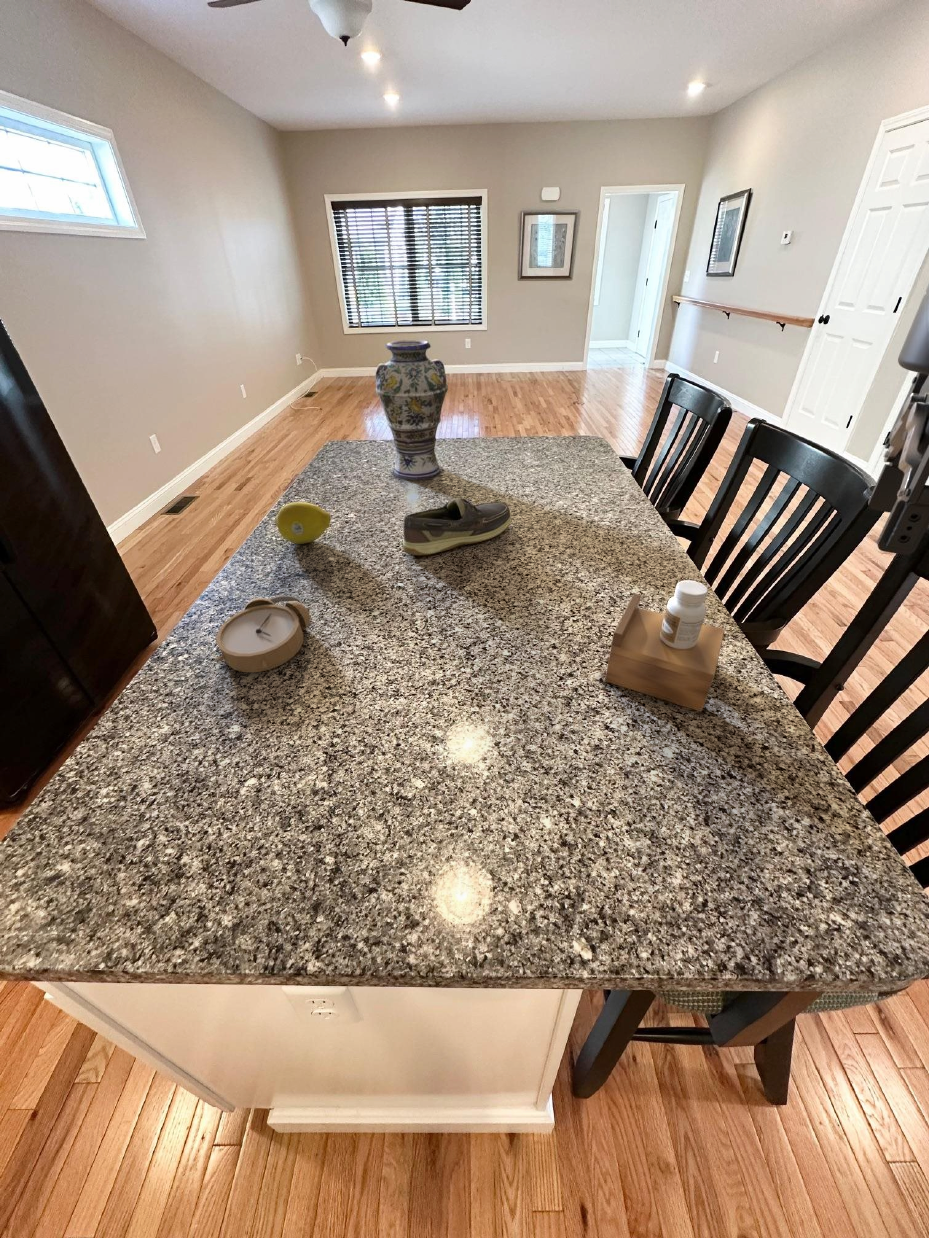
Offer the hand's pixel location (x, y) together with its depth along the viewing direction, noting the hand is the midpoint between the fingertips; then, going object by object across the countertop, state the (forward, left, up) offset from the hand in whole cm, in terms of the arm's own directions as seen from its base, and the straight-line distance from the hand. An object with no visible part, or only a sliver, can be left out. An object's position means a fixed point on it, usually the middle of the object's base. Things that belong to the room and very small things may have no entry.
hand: (886, 528), depth 41 cm
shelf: (+14, -9, -28) cm, 32 cm away
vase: (+86, -61, -28) cm, 109 cm away
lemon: (+84, -17, -28) cm, 90 cm away
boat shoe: (+57, -32, -28) cm, 71 cm away
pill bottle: (+13, -9, -22) cm, 27 cm away
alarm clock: (+66, +10, -28) cm, 72 cm away
